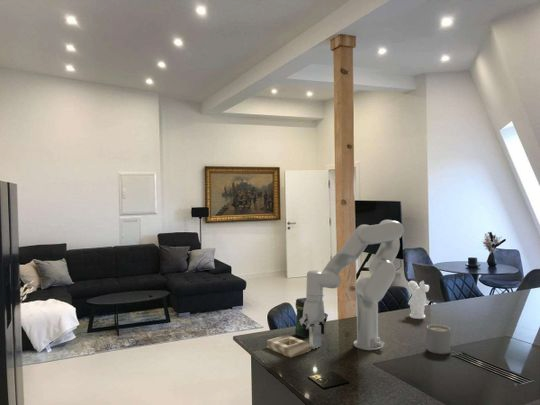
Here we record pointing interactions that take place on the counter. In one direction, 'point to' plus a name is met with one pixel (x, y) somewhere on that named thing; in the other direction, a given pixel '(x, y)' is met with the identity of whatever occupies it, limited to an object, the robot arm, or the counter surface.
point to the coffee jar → (300, 316)
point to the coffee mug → (438, 339)
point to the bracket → (315, 336)
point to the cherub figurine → (417, 299)
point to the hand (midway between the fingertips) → (313, 335)
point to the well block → (288, 345)
